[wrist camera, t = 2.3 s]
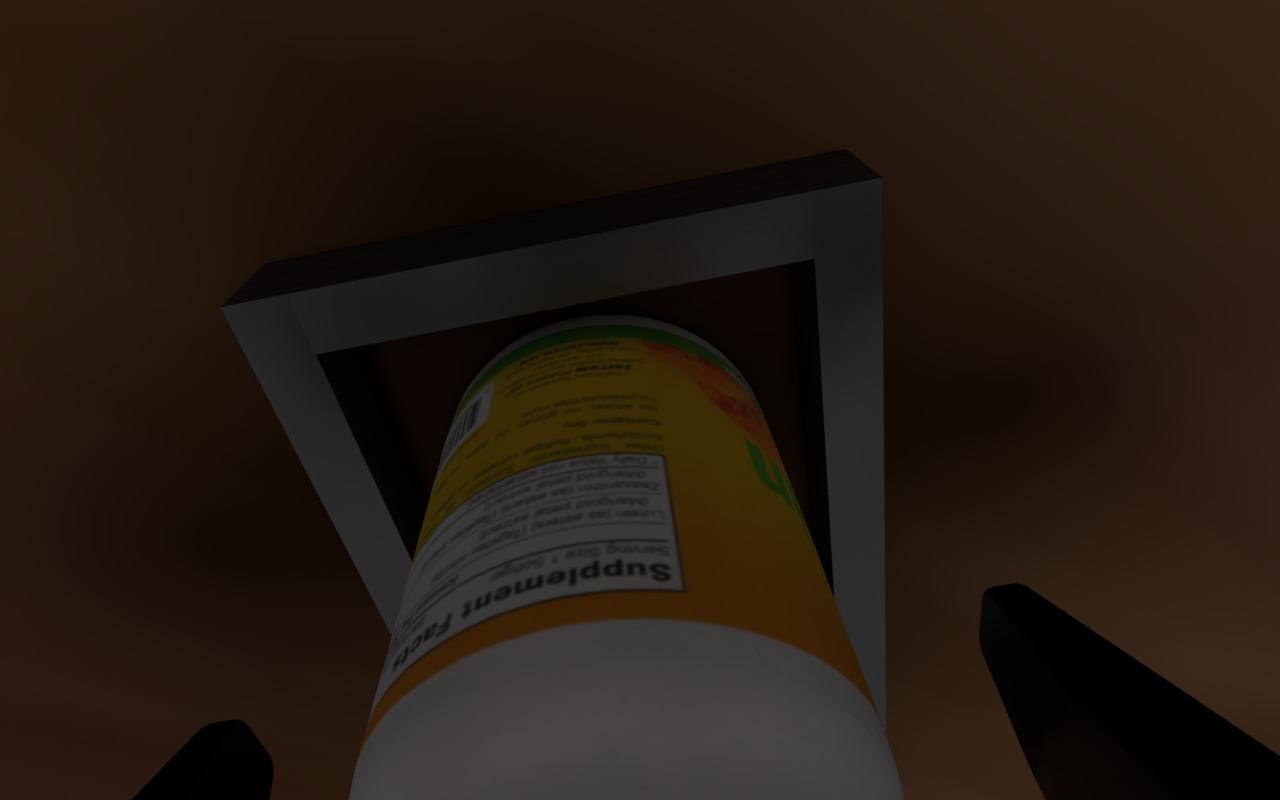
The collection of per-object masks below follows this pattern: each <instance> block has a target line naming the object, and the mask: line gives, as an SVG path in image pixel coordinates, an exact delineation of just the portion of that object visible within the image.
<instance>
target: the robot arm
mask: <svg viewBox="0 0 1280 800" xmlns="http://www.w3.org/2000/svg"><path fill="white" fill-rule="evenodd" d="M979 641H980V646H981V650H982V653H983V656H984V658H985V661H986V663H987V665H988V668H989V670H990V673H991V675H992V677H993V680H994V682H995V685H996V687H997V689H998V692H999V694H1000V697H1001V699H1002V702H1003V704H1004V706H1005V709H1006V711H1007V714H1008V716H1009V718H1010V721H1011V723H1012V726H1013V728H1014V730H1015V733H1016V735H1017V738H1018V740H1019V743H1020V745H1021V747H1022V750H1023V752H1024V755H1025V757H1026V759H1027V762H1028V764H1029V766H1030V769H1031V771H1032V773H1033V775H1034V778H1035V780H1036V782H1037V784H1038V786H1039V788H1040V790H1041V792H1042V794H1043V796H1044V798H1045V800H1280V756H1279V755H1278V754H1276V753H1275V752H1273V751H1272V750H1270V749H1269V748H1267V747H1266V746H1264V745H1263V744H1261V743H1260V742H1258V741H1257V740H1255V739H1254V738H1252V737H1251V736H1249V735H1248V734H1247V733H1245V732H1244V731H1242V730H1241V729H1239V728H1238V727H1236V726H1235V725H1233V724H1232V723H1230V722H1229V721H1227V720H1226V719H1224V718H1223V717H1221V716H1220V715H1218V714H1217V713H1215V712H1214V711H1212V710H1211V709H1209V708H1208V707H1206V706H1205V705H1203V704H1202V703H1200V702H1199V701H1197V700H1196V699H1194V698H1193V697H1191V696H1190V695H1188V694H1187V693H1185V692H1184V691H1182V690H1181V689H1179V688H1178V687H1176V686H1175V685H1173V684H1172V683H1170V682H1169V681H1167V680H1166V679H1164V678H1163V677H1161V676H1160V675H1158V674H1157V673H1155V672H1154V671H1152V670H1151V669H1149V668H1148V667H1146V666H1145V665H1143V664H1142V663H1140V662H1139V661H1137V660H1136V659H1135V658H1133V657H1132V656H1130V655H1129V654H1127V653H1126V652H1124V651H1123V650H1121V649H1120V648H1118V647H1117V646H1115V645H1114V644H1112V643H1111V642H1109V641H1108V640H1106V639H1105V638H1103V637H1102V636H1100V635H1099V634H1097V633H1096V632H1094V631H1093V630H1091V629H1090V628H1088V627H1087V626H1085V625H1084V624H1082V623H1081V622H1079V621H1078V620H1076V619H1075V618H1073V617H1072V616H1070V615H1069V614H1067V613H1066V612H1064V611H1063V610H1061V609H1060V608H1058V607H1057V606H1055V605H1054V604H1052V603H1051V602H1049V601H1048V600H1046V599H1045V598H1043V597H1042V596H1040V595H1039V594H1037V593H1036V592H1034V591H1033V590H1031V589H1030V588H1028V587H1027V586H1025V585H1022V584H1018V583H1013V584H1007V585H1001V586H996V587H990V588H988V589H986V590H985V592H984V593H983V597H982V606H981V617H980V628H979ZM272 782H273V762H272V759H271V756H270V755H269V753H268V752H267V750H266V749H265V748H264V746H263V745H262V744H261V742H260V741H259V740H258V738H257V737H256V736H255V734H254V733H253V731H252V730H251V729H250V727H249V726H248V725H247V724H246V723H245V722H244V721H242V720H239V719H233V720H227V721H222V722H216V723H211V724H208V725H206V726H204V727H203V728H201V729H200V730H199V731H198V732H197V733H196V734H195V735H194V736H193V737H192V738H191V739H190V740H189V741H188V742H187V743H186V744H185V745H184V746H183V747H182V748H181V749H180V750H179V751H178V752H177V753H176V755H175V756H174V757H173V758H172V759H171V760H170V761H169V762H168V763H167V764H166V765H165V766H164V767H163V768H162V769H161V770H160V771H159V772H158V773H157V774H156V775H155V776H154V777H153V778H152V779H151V780H150V781H149V782H148V783H147V784H146V785H145V786H144V787H143V788H142V789H141V790H140V792H139V793H138V794H137V795H136V796H135V797H134V798H133V799H132V800H270V794H271V788H272Z"/></svg>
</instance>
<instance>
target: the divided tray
mask: <svg viewBox="0 0 1280 800" xmlns="http://www.w3.org/2000/svg"><path fill="white" fill-rule="evenodd" d="M789 263H791V267H792V280H793V294H794V307H795V320H796V333H797V346H798V360H799V373H800V386H801V399H802V412H803V426H804V439H805V452H806V465H807V478H808V492H809V505H810V518H811V531H812V540H813V543H814V545H815V548H816V551H817V553H818V556H819V559H820V562H821V564H822V567H823V570H824V572H825V575H826V578H827V581H828V584H829V586H830V589H831V592H832V595H833V597H834V600H835V602H836V605H837V607H838V610H839V613H840V615H841V618H842V620H843V623H844V626H845V628H846V631H847V633H848V636H849V638H850V641H851V644H852V646H853V649H854V651H855V654H856V657H857V659H858V662H859V664H860V667H861V670H862V672H863V675H864V677H865V680H866V683H867V685H868V688H869V690H870V693H871V696H872V698H873V701H874V704H875V706H876V709H877V712H878V715H879V717H880V720H881V723H882V726H883V728H884V731H885V733H886V652H885V508H884V365H883V221H882V177H881V176H880V175H878V174H877V173H876V172H874V171H873V170H872V169H871V168H869V167H868V166H867V165H866V164H864V163H863V162H862V161H860V160H859V159H858V158H857V157H855V156H854V155H853V154H851V153H850V152H849V151H848V150H841V151H836V152H831V153H826V154H821V155H816V156H810V157H805V158H800V159H795V160H790V161H785V162H780V163H775V164H770V165H765V166H760V167H755V168H750V169H745V170H740V171H735V172H730V173H725V174H719V175H714V176H709V177H704V178H699V179H694V180H689V181H684V182H679V183H674V184H669V185H664V186H659V187H654V188H649V189H644V190H639V191H633V192H628V193H623V194H618V195H613V196H608V197H603V198H598V199H593V200H588V201H583V202H578V203H573V204H568V205H563V206H558V207H553V208H547V209H542V210H537V211H532V212H527V213H522V214H517V215H512V216H507V217H502V218H497V219H492V220H487V221H482V222H477V223H472V224H467V225H461V226H456V227H451V228H446V229H441V230H436V231H431V232H426V233H421V234H416V235H411V236H406V237H401V238H396V239H391V240H386V241H381V242H375V243H370V244H365V245H360V246H355V247H350V248H345V249H340V250H335V251H330V252H325V253H320V254H315V255H310V256H305V257H300V258H295V259H290V260H284V261H279V262H274V263H269V264H264V265H262V266H261V267H260V268H259V269H258V270H257V271H256V272H255V273H254V274H253V275H252V276H251V277H250V278H249V279H248V280H247V281H246V282H245V283H244V284H243V285H242V286H241V287H240V288H239V289H238V290H237V291H236V292H235V293H234V294H233V295H232V296H231V297H230V298H229V299H228V300H227V301H226V302H225V303H224V304H223V305H222V306H221V309H222V311H223V313H224V315H225V317H226V319H227V321H228V323H229V325H230V326H231V328H232V330H233V332H234V334H235V336H236V338H237V340H238V342H239V344H240V346H241V348H242V349H243V351H244V353H245V355H246V357H247V359H248V361H249V363H250V365H251V367H252V369H253V371H254V373H255V374H256V376H257V378H258V380H259V382H260V384H261V386H262V388H263V390H264V392H265V394H266V396H267V397H268V399H269V401H270V403H271V405H272V407H273V409H274V411H275V413H276V415H277V417H278V419H279V420H280V422H281V424H282V426H283V428H284V430H285V432H286V434H287V436H288V438H289V440H290V442H291V443H292V445H293V447H294V449H295V451H296V453H297V455H298V457H299V459H300V461H301V463H302V465H303V466H304V468H305V470H306V472H307V474H308V476H309V478H310V480H311V482H312V484H313V486H314V488H315V489H316V491H317V493H318V495H319V497H320V499H321V501H322V503H323V505H324V507H325V509H326V511H327V512H328V514H329V516H330V518H331V520H332V522H333V524H334V526H335V528H336V530H337V532H338V534H339V535H340V537H341V539H342V541H343V543H344V545H345V547H346V549H347V551H348V553H349V555H350V557H351V558H352V560H353V562H354V564H355V566H356V568H357V570H358V572H359V574H360V576H361V578H362V580H363V581H364V583H365V585H366V587H367V589H368V591H369V593H370V595H371V597H372V599H373V601H374V603H375V604H376V606H377V608H378V610H379V612H380V614H381V616H382V618H383V620H384V622H385V624H386V626H387V628H388V629H389V631H390V633H391V635H392V634H393V631H394V627H395V623H396V620H397V616H398V613H399V609H400V606H401V602H402V599H403V595H404V591H405V587H406V583H407V579H408V576H409V572H410V569H411V565H412V562H413V558H414V554H415V551H416V547H417V543H418V540H419V536H420V532H421V529H422V525H423V521H424V518H425V514H426V510H427V507H428V501H427V499H426V496H425V494H424V491H423V489H422V487H421V484H420V482H419V480H418V477H417V475H416V473H415V470H414V468H413V466H412V463H411V461H410V458H409V456H408V454H407V451H406V449H405V447H404V444H403V442H402V440H401V437H400V435H399V433H398V430H397V428H396V426H395V423H394V421H393V418H392V416H391V414H390V411H389V409H388V407H387V404H386V402H385V400H384V397H383V395H382V393H381V390H380V388H379V385H378V383H377V381H376V378H375V376H374V374H373V371H372V369H371V367H370V364H369V362H368V360H367V357H366V355H365V352H364V350H363V348H362V346H363V345H368V344H373V343H378V342H384V341H389V340H394V339H399V338H404V337H410V336H415V335H420V334H425V333H430V332H436V331H441V330H446V329H451V328H456V327H462V326H467V325H472V324H477V323H482V322H488V321H493V320H498V319H503V318H508V317H514V316H519V315H524V314H529V313H534V312H540V311H545V310H550V309H555V308H560V307H566V306H571V305H576V304H581V303H586V302H591V301H597V300H602V299H607V298H612V297H617V296H623V295H628V294H633V293H638V292H643V291H649V290H654V289H659V288H664V287H669V286H675V285H680V284H685V283H690V282H695V281H701V280H706V279H711V278H716V277H721V276H727V275H732V274H737V273H742V272H747V271H753V270H758V269H763V268H768V267H773V266H779V265H784V264H789Z"/></svg>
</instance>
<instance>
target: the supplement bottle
mask: <svg viewBox="0 0 1280 800" xmlns="http://www.w3.org/2000/svg"><path fill="white" fill-rule="evenodd" d="M349 800H904V796H903V790H902V785H901V781H900V777H899V774H898V770H897V767H896V764H895V761H894V758H893V755H892V752H891V750H890V747H889V743H888V738H887V735H886V733H885V731H884V728H883V726H882V723H881V720H880V717H879V715H878V712H877V709H876V706H875V704H874V701H873V698H872V696H871V693H870V690H869V688H868V685H867V683H866V680H865V677H864V675H863V672H862V670H861V667H860V664H859V662H858V659H857V657H856V654H855V651H854V649H853V646H852V644H851V641H850V638H849V636H848V633H847V631H846V628H845V626H844V623H843V620H842V618H841V615H840V613H839V610H838V607H837V605H836V602H835V600H834V597H833V595H832V592H831V589H830V586H829V584H828V581H827V578H826V575H825V572H824V570H823V567H822V564H821V562H820V559H819V556H818V553H817V551H816V548H815V545H814V543H813V540H812V538H811V535H810V532H809V530H808V527H807V525H806V523H805V520H804V518H803V515H802V512H801V509H800V507H799V504H798V501H797V499H796V496H795V494H794V491H793V489H792V486H791V484H790V481H789V479H788V476H787V474H786V471H785V469H784V466H783V463H782V461H781V458H780V456H779V453H778V451H777V448H776V445H775V443H774V440H773V438H772V435H771V432H770V430H769V427H768V425H767V422H766V420H765V417H764V414H763V412H762V410H761V408H760V406H759V403H758V401H757V399H756V397H755V395H754V393H753V391H752V389H751V387H750V386H749V384H748V383H747V381H746V380H745V378H744V377H743V375H742V374H741V373H740V372H739V370H738V369H737V368H736V367H735V366H734V365H733V364H732V363H731V362H730V361H729V360H728V359H727V357H726V356H724V355H723V354H722V353H721V352H720V351H719V350H717V349H716V348H715V347H713V346H712V345H711V344H709V343H708V342H706V341H705V340H703V339H701V338H700V337H698V336H697V335H695V334H693V333H691V332H689V331H687V330H685V329H682V328H680V327H678V326H675V325H673V324H669V323H666V322H663V321H660V320H656V319H652V318H647V317H642V316H634V315H624V314H603V315H590V316H583V317H577V318H572V319H567V320H563V321H559V322H556V323H553V324H550V325H547V326H544V327H542V328H539V329H537V330H535V331H533V332H531V333H528V334H526V335H525V336H523V337H521V338H519V339H518V340H516V341H515V342H513V343H512V344H510V345H509V346H507V347H506V348H505V349H503V350H502V351H501V352H500V353H498V354H497V355H496V356H495V357H494V358H493V359H492V360H491V361H490V362H488V363H487V365H486V366H485V367H484V368H483V369H482V370H481V371H480V372H479V373H478V375H477V376H476V377H475V379H474V380H473V381H472V383H471V384H470V385H469V387H468V389H467V390H466V392H465V393H464V395H463V397H462V399H461V401H460V403H459V406H458V408H457V410H456V413H455V416H454V419H453V422H452V424H451V427H450V429H449V432H448V435H447V439H446V442H445V445H444V448H443V452H442V456H441V460H440V464H439V467H438V471H437V474H436V477H435V480H434V484H433V488H432V492H431V495H430V500H429V503H428V507H427V510H426V514H425V518H424V521H423V525H422V529H421V532H420V536H419V540H418V543H417V547H416V551H415V554H414V558H413V562H412V565H411V569H410V572H409V576H408V579H407V583H406V587H405V591H404V595H403V599H402V602H401V606H400V609H399V613H398V616H397V620H396V623H395V627H394V631H393V634H392V638H391V642H390V645H389V649H388V652H387V656H386V660H385V663H384V667H383V670H382V674H381V677H380V681H379V684H378V688H377V691H376V695H375V698H374V702H373V706H372V709H371V713H370V717H369V721H368V724H367V728H366V731H365V734H364V737H363V740H362V744H361V747H360V751H359V755H358V759H357V763H356V767H355V772H354V777H353V781H352V786H351V790H350V795H349Z"/></svg>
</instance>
